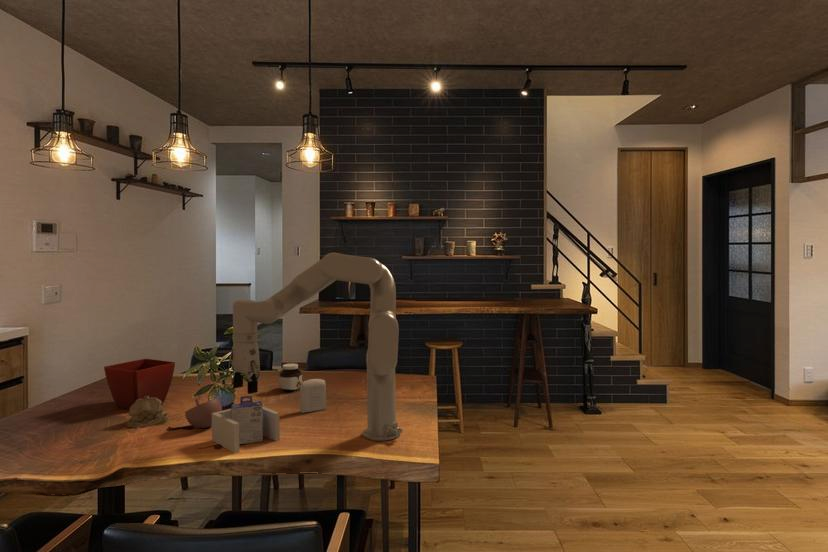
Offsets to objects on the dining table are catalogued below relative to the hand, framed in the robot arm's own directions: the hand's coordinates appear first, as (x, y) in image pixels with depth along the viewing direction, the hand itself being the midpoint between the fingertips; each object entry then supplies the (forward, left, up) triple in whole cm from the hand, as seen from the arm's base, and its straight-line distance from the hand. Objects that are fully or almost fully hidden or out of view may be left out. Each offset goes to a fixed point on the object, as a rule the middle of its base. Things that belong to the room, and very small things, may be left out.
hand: (245, 390), depth 163 cm
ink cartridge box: (0, 0, -17) cm, 17 cm away
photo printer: (+12, -34, -17) cm, 40 cm away
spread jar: (+47, -45, -17) cm, 67 cm away
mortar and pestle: (+24, +4, -17) cm, 30 cm away
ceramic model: (+44, +16, -17) cm, 50 cm away
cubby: (+1, 0, -17) cm, 17 cm away
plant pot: (+71, +10, -17) cm, 73 cm away
